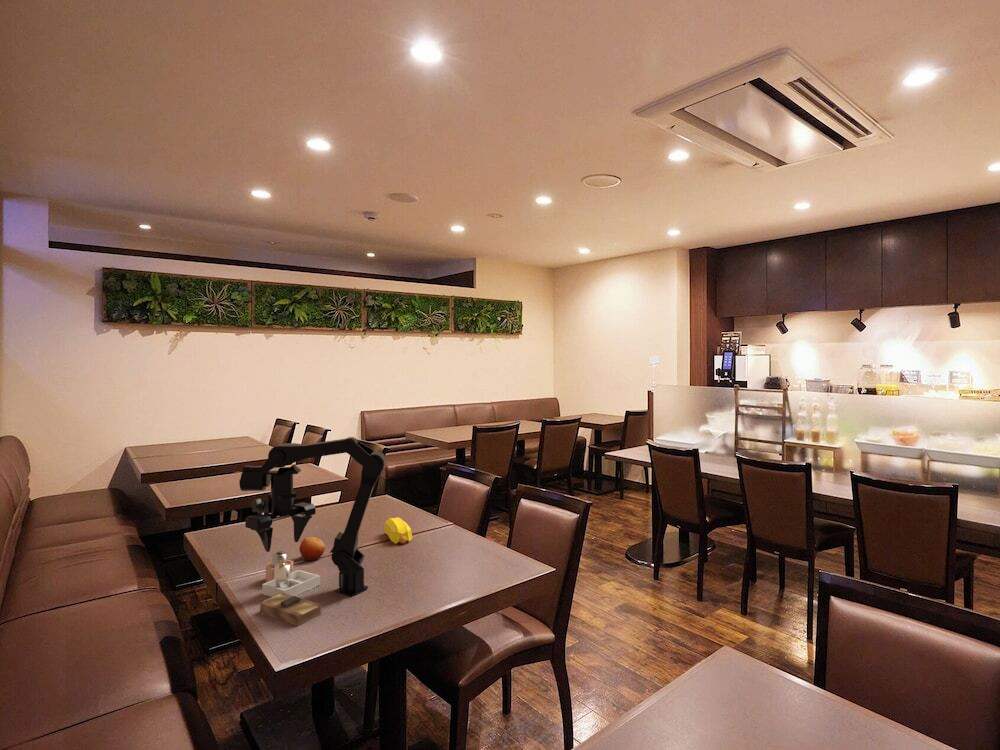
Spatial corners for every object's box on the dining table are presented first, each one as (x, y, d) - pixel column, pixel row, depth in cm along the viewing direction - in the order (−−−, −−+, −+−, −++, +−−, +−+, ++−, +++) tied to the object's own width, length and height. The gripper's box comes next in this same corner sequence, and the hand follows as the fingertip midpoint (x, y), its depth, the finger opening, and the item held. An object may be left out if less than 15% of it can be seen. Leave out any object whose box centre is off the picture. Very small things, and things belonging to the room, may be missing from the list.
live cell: (293, 589, 147) (293, 562, 147) (281, 594, 144) (280, 567, 144) (283, 586, 149) (283, 560, 149) (271, 591, 146) (271, 564, 146)
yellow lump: (393, 547, 185) (414, 544, 188) (392, 528, 185) (414, 525, 188) (382, 533, 202) (402, 530, 205) (382, 515, 202) (402, 513, 205)
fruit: (293, 552, 176) (306, 530, 177) (315, 562, 178) (327, 540, 179) (293, 560, 168) (306, 537, 169) (315, 570, 170) (329, 547, 172)
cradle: (321, 614, 134) (321, 600, 134) (298, 626, 128) (298, 611, 128) (282, 602, 141) (282, 588, 141) (259, 612, 135) (259, 598, 135)
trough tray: (320, 585, 152) (319, 575, 152) (284, 601, 142) (284, 590, 142) (298, 579, 156) (298, 569, 156) (262, 594, 146) (262, 584, 146)
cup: (298, 578, 157) (298, 562, 157) (277, 586, 151) (277, 570, 151) (282, 573, 161) (282, 558, 161) (261, 581, 155) (261, 565, 155)
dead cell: (289, 576, 157) (290, 551, 157) (278, 581, 153) (278, 555, 153) (280, 574, 159) (280, 549, 159) (269, 578, 155) (269, 553, 155)
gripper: (291, 480, 158) (291, 533, 158) (232, 493, 142) (232, 551, 142) (316, 484, 153) (317, 539, 153) (258, 498, 137) (259, 559, 137)
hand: (282, 546), depth 146 cm, fingers open, 9 cm apart
